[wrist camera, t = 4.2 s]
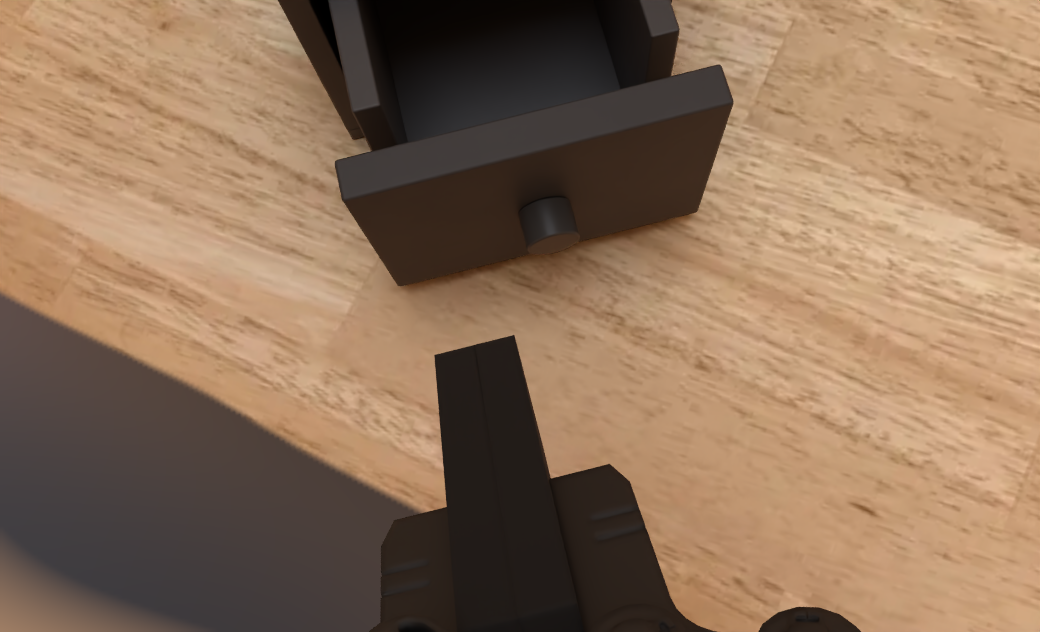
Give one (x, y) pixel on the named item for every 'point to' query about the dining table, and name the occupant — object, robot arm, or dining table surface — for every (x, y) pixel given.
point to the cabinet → (323, 52)
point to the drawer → (518, 126)
